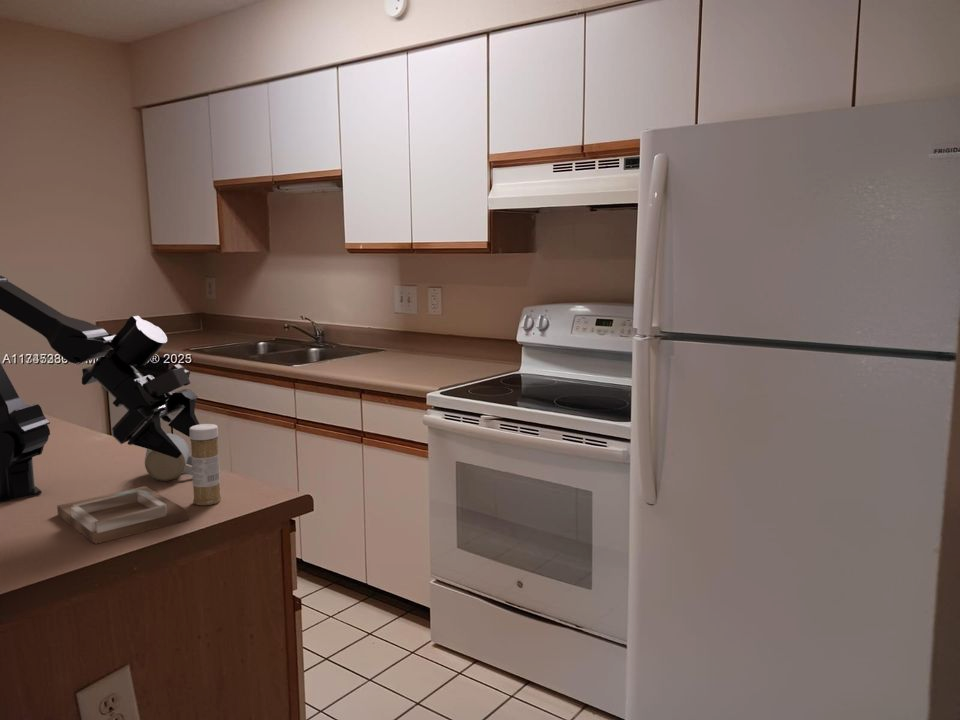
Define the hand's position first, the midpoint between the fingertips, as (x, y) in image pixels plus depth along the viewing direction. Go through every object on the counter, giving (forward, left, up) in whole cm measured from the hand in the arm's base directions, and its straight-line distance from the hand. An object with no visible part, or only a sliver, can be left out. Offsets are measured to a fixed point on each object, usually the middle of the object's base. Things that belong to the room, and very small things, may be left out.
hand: (193, 448), depth 122 cm
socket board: (-1, -12, -9) cm, 15 cm away
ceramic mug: (-17, +4, -10) cm, 20 cm away
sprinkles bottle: (+2, +1, -10) cm, 10 cm away
